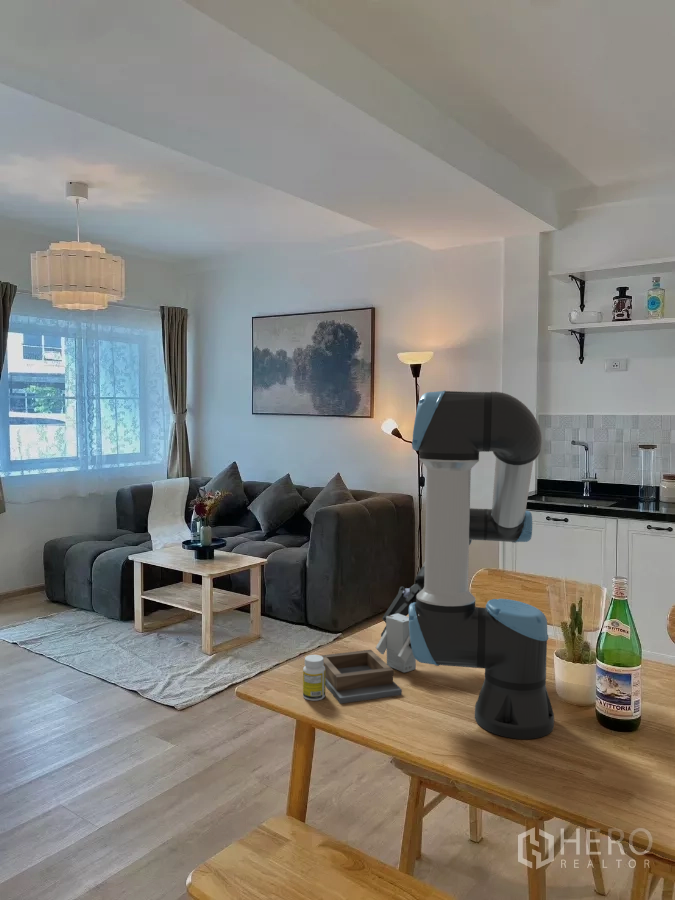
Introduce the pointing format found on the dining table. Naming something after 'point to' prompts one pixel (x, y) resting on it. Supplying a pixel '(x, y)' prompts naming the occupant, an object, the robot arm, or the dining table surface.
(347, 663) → the collar stand
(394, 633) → the skincare box
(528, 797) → the dining table surface
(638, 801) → the dining table surface
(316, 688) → the supplement bottle
